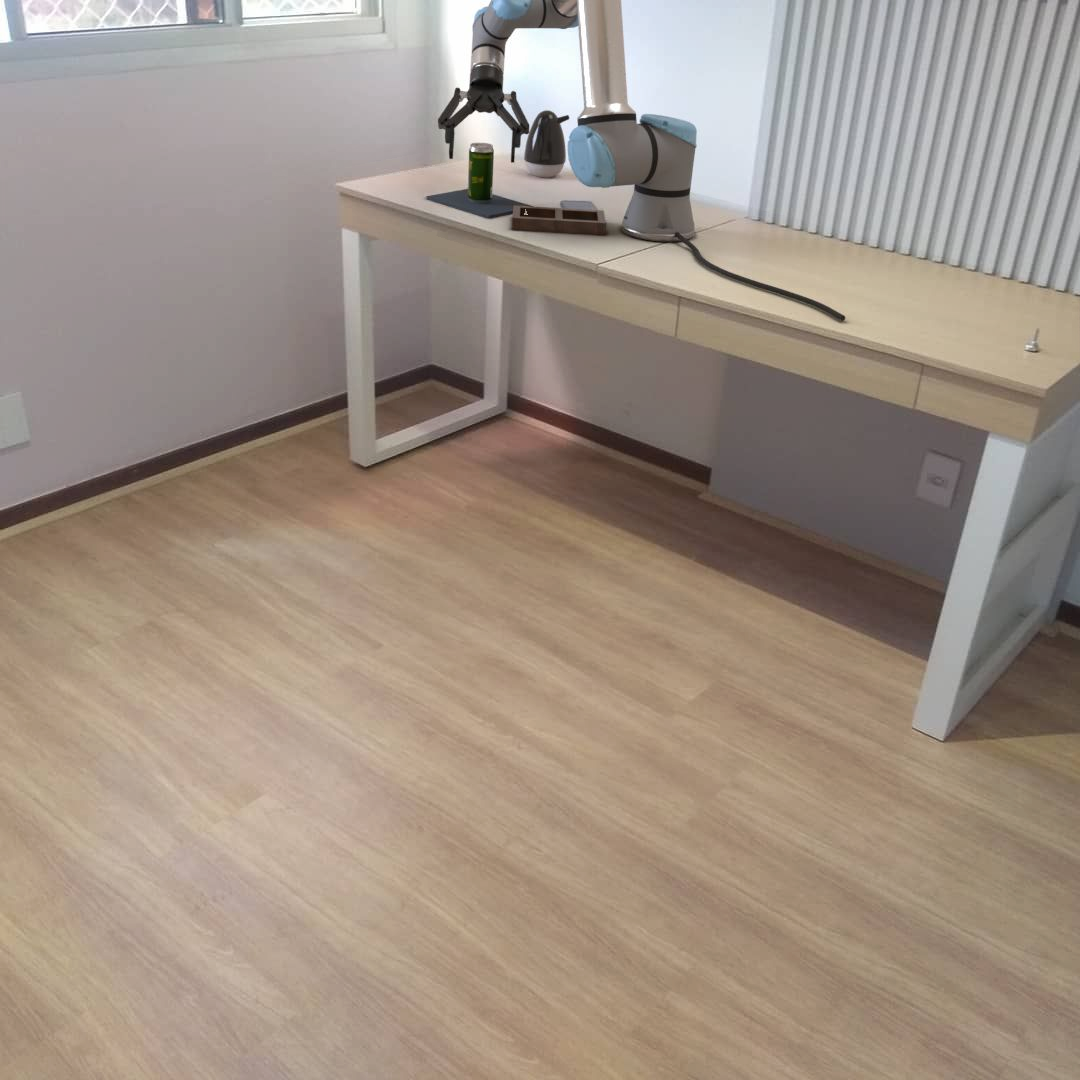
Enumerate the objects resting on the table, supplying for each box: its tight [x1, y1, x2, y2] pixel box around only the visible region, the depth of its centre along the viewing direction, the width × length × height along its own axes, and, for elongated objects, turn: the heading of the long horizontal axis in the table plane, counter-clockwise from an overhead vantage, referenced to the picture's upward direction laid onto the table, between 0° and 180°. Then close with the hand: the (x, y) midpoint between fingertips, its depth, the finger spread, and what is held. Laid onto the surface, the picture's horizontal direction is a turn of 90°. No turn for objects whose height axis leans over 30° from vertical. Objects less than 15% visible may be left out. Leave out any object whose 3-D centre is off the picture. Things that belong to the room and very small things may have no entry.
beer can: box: [467, 142, 495, 204], centre depth 254 cm, size 5×5×12 cm
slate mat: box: [425, 188, 535, 219], centre depth 257 cm, size 20×14×1 cm
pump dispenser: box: [523, 109, 570, 179], centre depth 281 cm, size 10×10×15 cm
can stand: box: [511, 205, 607, 236], centre depth 244 cm, size 19×10×2 cm, turn 90°
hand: (481, 157), depth 255 cm, fingers open, 13 cm apart
